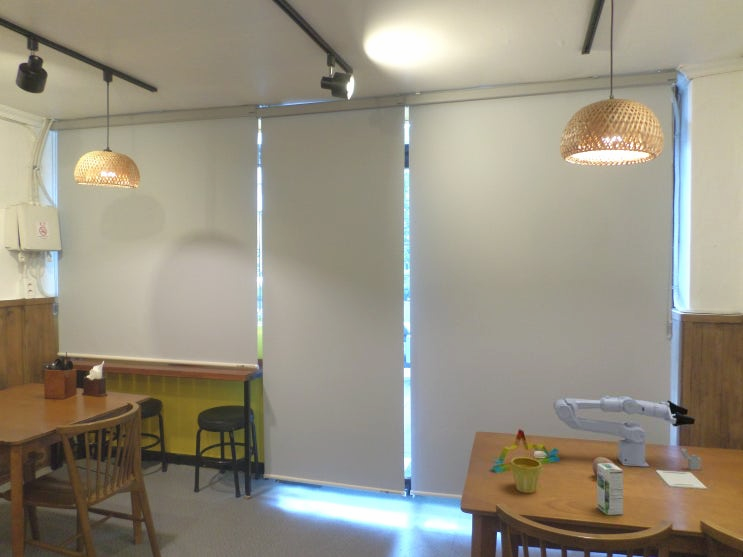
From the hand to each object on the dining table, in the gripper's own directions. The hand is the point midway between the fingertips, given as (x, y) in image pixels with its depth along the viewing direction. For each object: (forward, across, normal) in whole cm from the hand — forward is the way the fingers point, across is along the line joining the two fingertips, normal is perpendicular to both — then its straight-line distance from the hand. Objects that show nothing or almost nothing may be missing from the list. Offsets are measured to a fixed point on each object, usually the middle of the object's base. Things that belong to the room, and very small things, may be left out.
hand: (690, 416), depth 193 cm
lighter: (+2, -7, +19) cm, 20 cm away
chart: (-59, -17, +27) cm, 67 cm away
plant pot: (-60, -40, +22) cm, 75 cm away
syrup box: (-36, -50, +15) cm, 63 cm away
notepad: (-6, -19, +17) cm, 26 cm away
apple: (-32, -24, +20) cm, 45 cm away
